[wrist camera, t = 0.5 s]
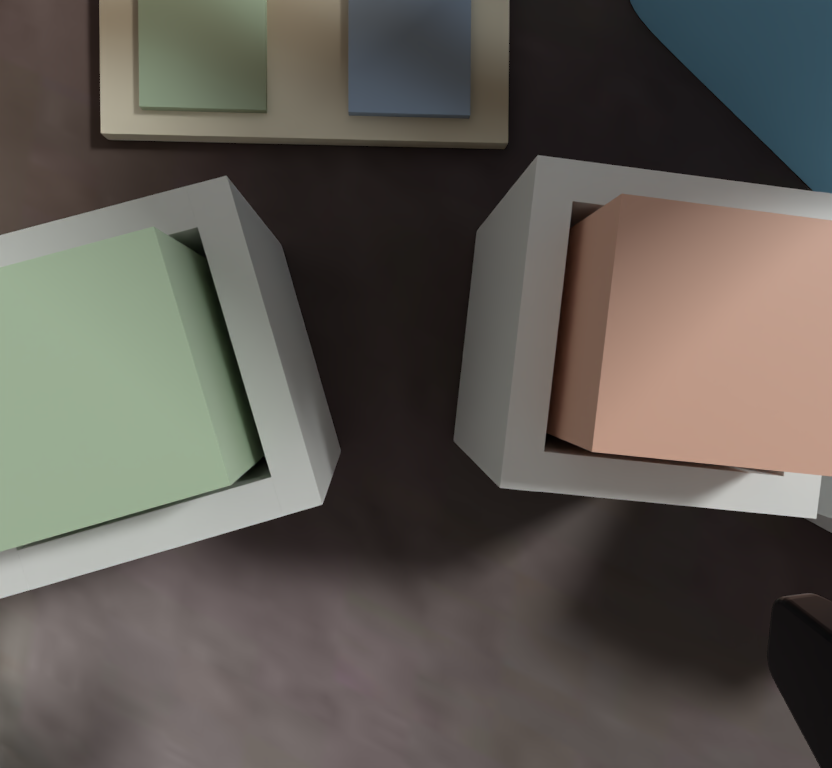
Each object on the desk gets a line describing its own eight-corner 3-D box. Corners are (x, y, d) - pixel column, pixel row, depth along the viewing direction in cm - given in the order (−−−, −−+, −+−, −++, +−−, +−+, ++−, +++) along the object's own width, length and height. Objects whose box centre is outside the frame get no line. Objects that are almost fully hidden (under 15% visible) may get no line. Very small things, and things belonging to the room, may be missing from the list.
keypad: (1014, 583, 23) (1353, 700, 15) (72, 599, 21) (-109, 743, 13) (1026, 239, 23) (1381, 174, 15) (68, 224, 21) (-123, 139, 13)
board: (504, 149, 22) (509, 140, 21) (108, 139, 21) (96, 129, 20) (506, -15, 21) (511, -31, 20) (106, -30, 21) (94, -48, 20)
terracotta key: (667, 434, 19) (837, 477, 12) (510, 417, 19) (591, 451, 12) (686, 274, 19) (868, 225, 12) (528, 255, 19) (621, 193, 12)
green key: (284, 438, 18) (231, 484, 11) (122, 484, 18) (-34, 561, 11) (237, 277, 18) (154, 226, 11) (72, 322, 18) (-118, 299, 11)
